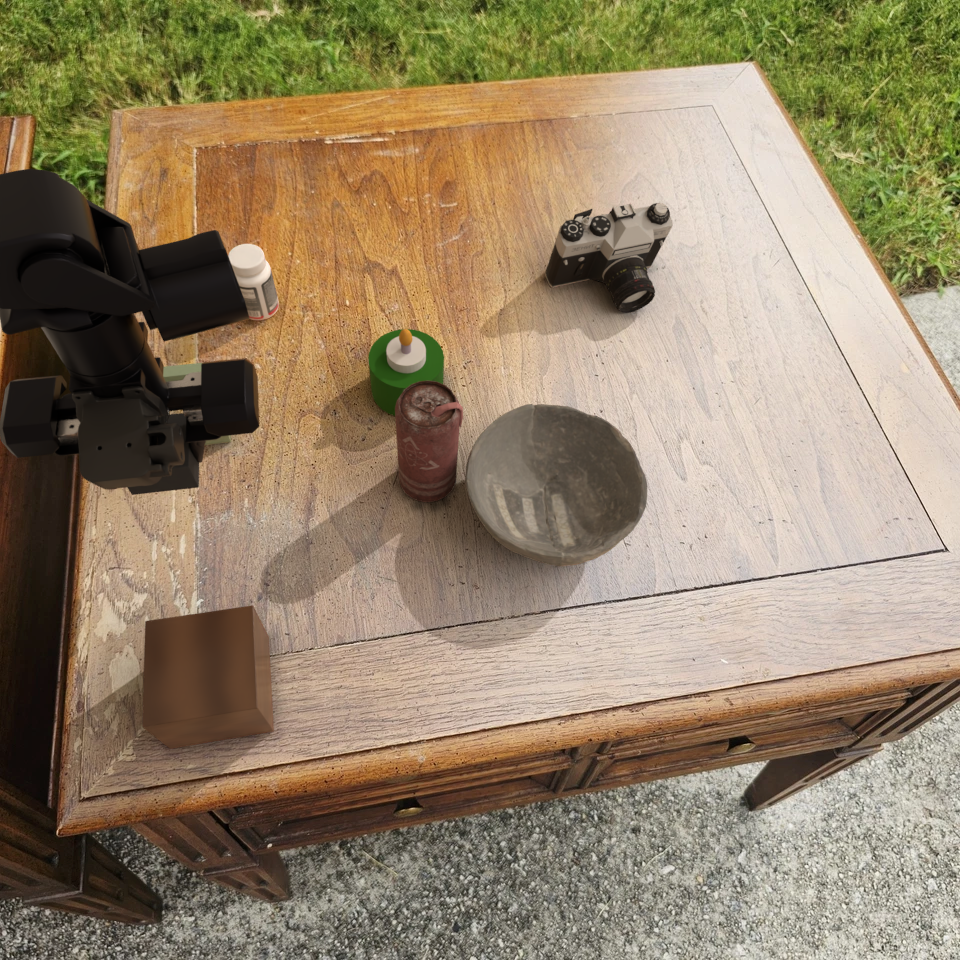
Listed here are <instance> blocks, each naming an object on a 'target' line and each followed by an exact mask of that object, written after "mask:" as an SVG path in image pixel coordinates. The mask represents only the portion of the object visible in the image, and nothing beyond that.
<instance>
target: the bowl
mask: <svg viewBox="0 0 960 960" xmlns="http://www.w3.org/2000/svg"><path fill="white" fill-rule="evenodd" d="M464 479H465V480H464V481H465V487H466V491H467V496H468V499H469V501H470V504H471V506H472V509H473V511H474V512H475V513H474V514H475V515H476V516H477V518H478V520H479V521H480V523H481V524H482V526H483V527H484V528H485V530H486V531H487V532H488V533H489V534H490V536H491V537H492V538H493V539H494V540H495V541H496V542H497V543H499V544H500V545H501V546H503V547H504V548H505V549H507V550H509V551H510V552H513V553H516V554H518V555H519V556H522V557H524V558H526V559H528V560H532V561H535V562H538V563H542V564H545V565H550V566H555V567H559V568H560V567H569V566H570V567H571V566H577V565H581V564H584V563H587V562H589V561H594V560H595V559H598V558H600V557H601V556H604V555H605V554H607V553H608V552H610V551H611V550H612V549H614V548H615V547H616V546H618V544H619V543H620V542H622V541H623V540H624V539H626V538H627V537H628V536H629V535H630V534H631V533H632V532H633V531H634V529H635V528H636V527H637V525H638V524H639V522H640V521H641V519H642V517H643V515H644V512H645V510H646V508H647V502H648V481H647V477H646V474H645V472H644V470H643V468H642V465H641V463H640V460H639V458H638V456H637V453H636V450H635V449H634V447H633V446H632V443H631V442H630V441H629V440H628V439H627V438H626V437H624V436H623V433H622V432H621V431H620V430H619V429H618V427H616V426H614V425H613V424H612V423H611V422H610V421H608V420H606V419H605V418H602V417H601V416H597V415H594V414H588V413H586V412H585V411H581V410H579V409H577V408H574V407H572V406H569V405H559V404H557V405H556V404H545V403H540V404H539V403H538V404H533V403H529V404H524V405H521V406H518V407H516V408H513V409H511V410H509V411H507V412H505V413H504V414H502V415H500V416H499V417H497V418H496V419H495V420H494V421H493V422H492V423H491V424H489V425H488V426H487V427H485V429H484V430H483V432H481V433H480V435H479V436H478V437H477V439H476V440H475V442H474V444H473V445H472V447H471V450H470V452H469V455H468V458H467V462H466V466H465V478H464Z"/></svg>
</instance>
